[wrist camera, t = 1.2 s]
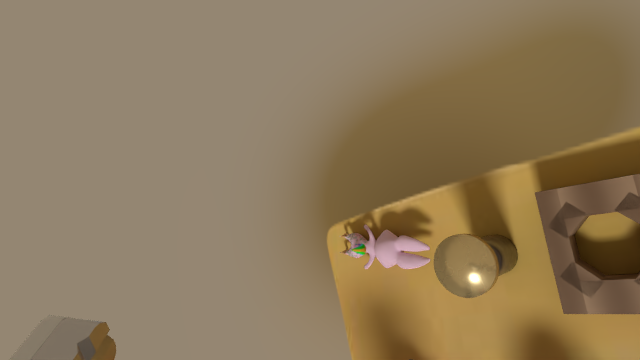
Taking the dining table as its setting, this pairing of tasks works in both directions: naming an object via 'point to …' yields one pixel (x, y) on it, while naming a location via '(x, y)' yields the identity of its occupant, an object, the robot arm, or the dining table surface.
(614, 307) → the jig
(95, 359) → the robot arm
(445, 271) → the knob
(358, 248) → the rabbit figure
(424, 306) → the dining table surface
